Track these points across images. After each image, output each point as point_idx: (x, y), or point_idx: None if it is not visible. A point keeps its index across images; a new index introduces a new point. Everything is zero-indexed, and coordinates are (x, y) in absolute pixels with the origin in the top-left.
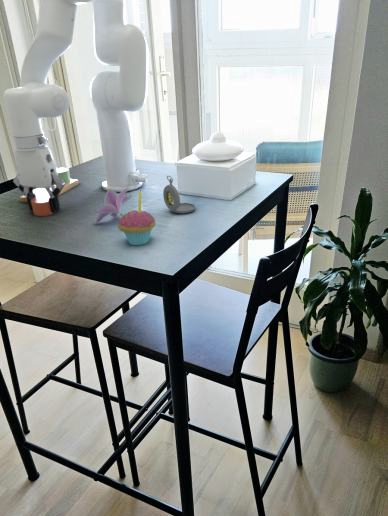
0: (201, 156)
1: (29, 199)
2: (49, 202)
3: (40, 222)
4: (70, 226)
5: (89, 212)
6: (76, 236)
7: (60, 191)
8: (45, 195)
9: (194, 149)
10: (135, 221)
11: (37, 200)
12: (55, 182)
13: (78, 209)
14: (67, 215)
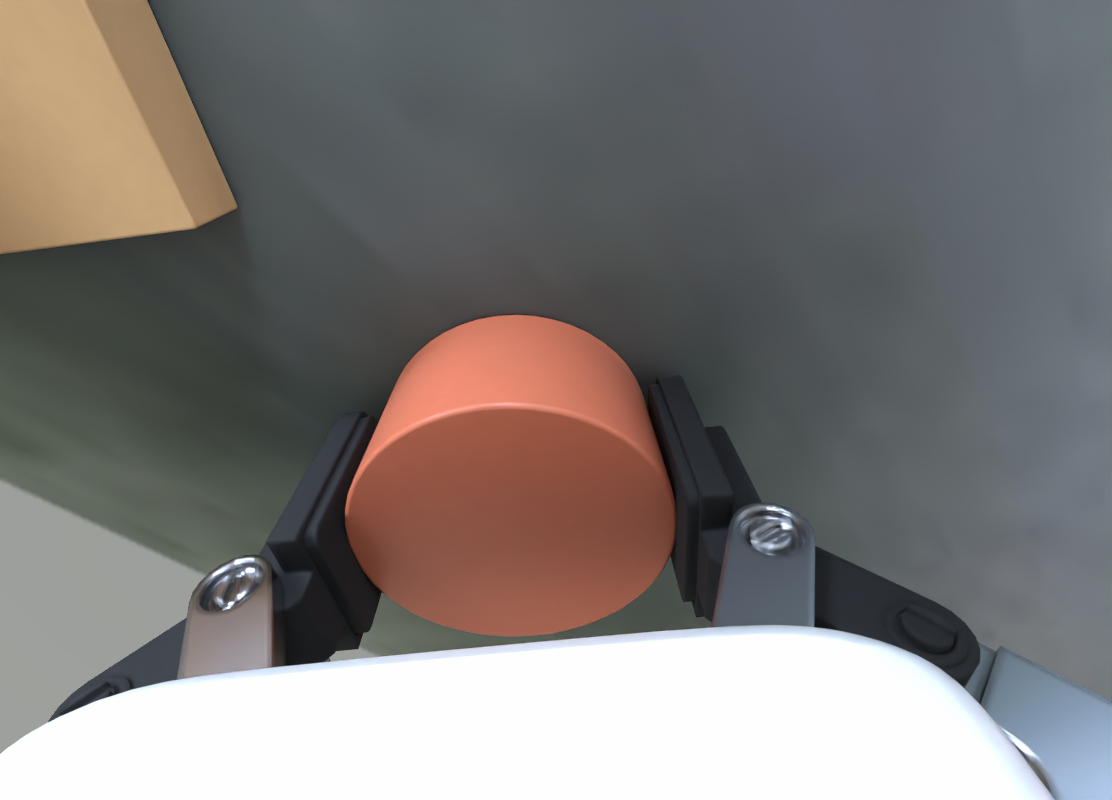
0: None
1: (373, 610)
2: (675, 567)
3: (659, 600)
4: (952, 586)
5: (1081, 275)
6: (1045, 667)
7: (898, 590)
8: (16, 19)
9: None
10: None
11: (488, 587)
12: (807, 648)
13: (891, 228)
14: (826, 429)
